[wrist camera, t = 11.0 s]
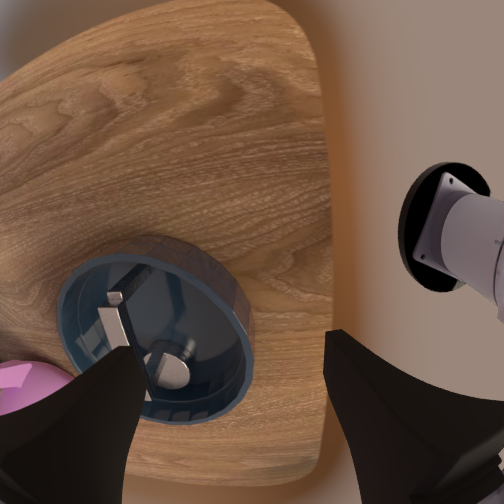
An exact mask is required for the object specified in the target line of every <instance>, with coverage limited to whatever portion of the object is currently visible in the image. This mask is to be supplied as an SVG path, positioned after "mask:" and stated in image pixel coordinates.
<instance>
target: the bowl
mask: <svg viewBox="0 0 504 504" xmlns="http://www.w3.org/2000/svg"><path fill="white" fill-rule="evenodd" d="M138 263H141V264H147V265H150V266H152V269H153V273H152V274H151V275H150V276H149V277H148V278H147V279H146V280H145V281H144V283H143V284H142V285H141V286H140V287H139V288H138V289H137V291H136V292H135V293H134V294H133V295H132V296H131V297H130V299H129V300H128V301H127V302H126V306H127V310H128V313H129V316H130V320H131V323H132V326H133V329H134V332H135V335H136V338H137V341H138V344H139V347H140V350H141V353H142V356H143V358H144V356H145V354H146V352H147V350H148V348H149V347H150V346H151V345H152V344H153V343H155V342H157V341H163V340H165V341H172V342H175V343H177V344H179V345H181V346H183V347H184V348H185V349H186V350H187V351H188V352H189V353H190V354H191V356H192V358H193V361H194V367H193V371H192V374H191V378H190V381H189V383H188V384H187V385H186V386H185V387H183V388H180V389H165V388H162V387H160V386H157V385H156V387H155V390H156V391H155V393H154V396H153V398H152V401H144V406H143V409H142V412H141V415H140V418H142V419H145V420H148V421H152V422H157V423H162V424H167V425H194V424H199V423H204V422H208V421H212V420H214V419H216V418H218V417H220V416H222V415H224V414H227V413H228V412H230V411H231V410H232V409H233V408H234V407H235V406H236V405H237V404H238V403H240V402H241V401H242V400H243V398H244V397H245V395H246V393H247V391H248V389H249V387H250V385H251V383H252V379H253V368H254V348H255V324H254V320H253V316H252V311H251V307H250V304H249V302H248V300H247V298H246V296H245V294H244V293H243V291H242V289H241V287H240V285H239V284H238V282H237V280H236V279H235V278H234V277H233V276H232V275H231V274H230V273H229V272H228V271H227V270H226V269H225V268H224V267H223V266H222V265H221V264H220V263H219V262H218V261H217V260H215V259H214V258H212V257H211V256H209V255H208V254H206V253H204V252H203V251H201V250H200V249H198V248H197V247H195V246H194V247H193V245H190V244H187V243H184V242H181V241H178V240H175V239H172V238H169V237H162V236H145V235H142V236H137V237H132V238H128V239H124V240H120V241H118V242H116V243H115V244H113V245H111V246H110V247H108V248H107V249H105V250H104V251H102V252H100V253H99V254H97V255H96V256H94V257H93V258H91V259H90V260H88V261H87V262H85V263H84V264H82V265H81V266H79V267H78V268H76V269H75V270H73V271H72V273H71V274H70V276H69V277H68V278H67V280H66V281H65V283H64V284H63V286H62V287H61V290H60V294H59V298H58V302H57V306H56V316H57V328H58V333H59V336H60V339H61V343H62V346H63V349H64V351H65V353H66V354H67V356H68V358H69V360H70V362H71V363H72V365H73V367H74V368H75V370H76V371H77V372H78V373H79V375H80V374H82V373H83V372H84V371H86V370H87V369H88V368H89V367H91V366H92V365H93V364H95V363H96V362H97V361H98V360H100V359H101V358H102V357H104V356H105V355H106V354H108V353H109V352H110V351H112V348H111V345H110V343H109V340H108V338H107V335H106V332H105V329H104V327H103V324H102V321H101V318H100V315H99V312H98V307H99V306H100V305H101V304H102V303H103V302H104V301H105V300H109V299H108V296H107V292H108V291H109V290H110V289H111V288H112V287H113V286H114V285H115V284H116V283H117V282H118V281H119V280H120V279H122V278H123V277H124V276H125V275H126V274H127V273H128V272H129V271H130V270H131V269H132V268H133V267H135V266H136V265H137V264H138Z"/></svg>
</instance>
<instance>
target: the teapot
mask: <svg viewBox="0 0 504 504" xmlns="http://www.w3.org/2000/svg"><path fill="white" fill-rule="evenodd" d="M73 379H75V378H74V377H73V376H71V375H70V374H69V373H67V372H65V371H64V370H62V369H60V368H58V367H56V366H54V365H51V364H48V363H44V362H38V361H19V360H10V361H7V362H3V363H0V388H2V390H1V395H0V416H1V415H4V414H7V413H11V412H13V411H16V410H19V409H22V408H24V407H26V406H28V405H31V404H33V403H35V402H37V401H39V400H41V399H43V398H45V397H47V396H49V395H50V394H52V393H54V392H55V391H57V390H59V389H60V388H62V387H63V386H65V385H66V384H68V383H69V382H70V381H72V380H73Z"/></svg>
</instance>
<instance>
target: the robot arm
mask: <svg viewBox="0 0 504 504" xmlns="http://www.w3.org/2000/svg"><path fill="white" fill-rule="evenodd" d="M450 179H451V183H450V182H449V180H450ZM422 254H423V257H422V258H421V255H422ZM412 256H413V258H414V259H415V260H417V261H419V262H421V263H423V264H426V265H428V266H430V267H432V268H435V269H437V270H439V271H441V272H443V273H445V274H448V275H450V276H452V277H454V278H456V279H458V280H460V281H462V282H465V283H466V284H468V285H469V286H471V287H472V288H474V289H475V290H476V291H478V292H479V293H481V294H482V295H483V296H484V297H486V298H487V299H488V300H490V301H491V302H493V303H494V304H495V305H496V306H498V308H499V310H498V316H497V318H498V319H499V320H500V321H501V322H503V323H504V201H501V200H497V199H494V198H490V197H486V196H482V195H478V194H477V193H475V192H474V191H473V190H472V189H470V188H469V187H468V186H466V185H465V184H463V183H462V182H461V181H459V180H458V179H457V178H455V177H454V176H452V175H451V174H449V173H447V172H444V173H443V174H442V175H441V179H440V182H439V185H438V188H437V191H436V194H435V197H434V200H433V203H432V205H431V208H430V211H429V214H428V216H427V219H426V222H425V224H424V227H423V229H422V232H421V234H420V237H419V239H418V242H417V244H416V246H415V249H414V251H413V254H412ZM323 375H324V379H325V383H326V387H327V391H328V394H329V397H330V400H331V402H332V405H333V407H334V410H335V412H336V414H337V417H338V419H339V422H340V424H341V427H342V429H343V432H344V434H345V437H346V439H347V442H348V445H349V448H350V451H351V455H352V459H353V463H354V466H355V471H356V475H357V480H358V484H359V489H360V495H361V500H362V504H504V469H503V470H502V471H501V470H500V468H499V467H498V465H499V464H500V463H501V462H502V460H501V458H500V457H499V455H498V454H499V452H500V451H501V450H502V449H503V448H504V401H497V400H488V399H480V398H475V397H470V396H466V395H461V394H458V393H454V392H450V391H447V390H445V389H442V388H439V387H436V386H433V385H431V384H428V383H426V382H424V381H421V380H419V379H417V378H415V377H413V376H411V375H409V374H407V373H405V372H403V371H401V370H400V369H398V368H396V367H394V366H393V365H391V364H390V363H388V362H386V361H385V360H383V359H382V358H380V357H379V356H377V355H376V354H374V353H373V352H372V351H370V350H369V349H367V348H366V347H365V346H363V345H362V344H361V343H359V342H358V341H356V340H355V339H354V338H353V337H351V336H350V335H349V334H347V333H346V332H345V331H343V330H342V329H340V330H333V331H327V332H325V352H324V367H323ZM146 390H147V382H146V380H145V378H144V375H143V373H142V370H141V367H140V365H139V362H138V360H137V357H136V354H135V352H134V349H133V346H118V347H116V348H114V349H113V350H112V351H110V352H109V353H108V354H106V355H105V356H104V357H102V358H101V359H100V360H98V361H97V362H96V363H95V364H93V365H92V366H91V367H89V368H88V369H87V370H86V371H84V372H83V373H82V374H80V375H79V376H77V377H76V378H75V379H73V380H72V381H70V382H69V383H68V384H66V385H65V386H63V387H62V388H60V389H59V390H57V391H55V392H54V393H52V394H50V395H49V396H47V397H45V398H43V399H41V400H39V401H37V402H35V403H33V404H31V405H28V406H26V407H24V408H22V409H19V410H16V411H13V412H11V413H7V414H4V415H1V416H0V504H122V488H123V480H124V473H125V466H126V460H127V456H128V452H129V448H130V445H131V442H132V439H133V436H134V433H135V430H136V427H137V424H138V421H139V418H140V415H141V412H142V409H143V406H144V401H145V396H146Z"/></svg>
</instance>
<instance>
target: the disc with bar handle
mask: <svg viewBox="0 0 504 504" xmlns="http://www.w3.org/2000/svg"><path fill="white" fill-rule="evenodd" d="M152 273H153V269H152V266H150V265H147V264H141V263H138V264H137V265H136V266H135V267H133V268H132V269H131V270H130V271H129V272H128V273H127V274H126V275H125V276H124V277H123V278H122V279H120V280H119V281H118V282H117V283H116V284H115V285H114V286H113V287H112V288H111V289H110V290H109V291H108V292H107V296H108V299H109V300H105V301H104V302H103V303H102V304H101V305H100V306H99V307H98V312H99V315H100V318H101V321H102V324H103V327H104V329H105V332H106V335H107V338H108V340H109V343H110V345H111V348H112V350H113V349H114V348H116V347H118V346H133V349H134V352H135V354H136V357H137V360H138V362H139V365H140V367H141V370H142V373H143V375H144V378H145V380H146V382H147V390H146V396H145V401H152V398H153V396H154V393H155V391H156V390H155V387H156V385H157V386H160V387H162V388H165V389H180V388H183V387H185V386H186V385H187V384H188V383H189V381H190V378H191V374H192V371H193V367H194V361H193V358H192V356H191V354H190V353H189V352H188V351H187V350H186V349H185V348H184V347H183V346H181V345H179V344H177V343H175V342H172V341H165V340H163V341H157V342H155V343H153V344H152V345H151V346H150V347H149V348H148V350H147V352H146V354H145V356H144V358H143V356H142V353H141V350H140V347H139V344H138V341H137V338H136V335H135V332H134V329H133V326H132V323H131V320H130V316H129V313H128V310H127V306H126V302H127V301H128V300H129V299H130V297H131V296H132V295H133V294H134V293H135V292H136V291H137V289H138V288H139V287H140V286H141V285H142V284H143V283H144V281H145V280H146V279H147V278H148V277H149V276H150V275H151V274H152Z"/></svg>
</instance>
